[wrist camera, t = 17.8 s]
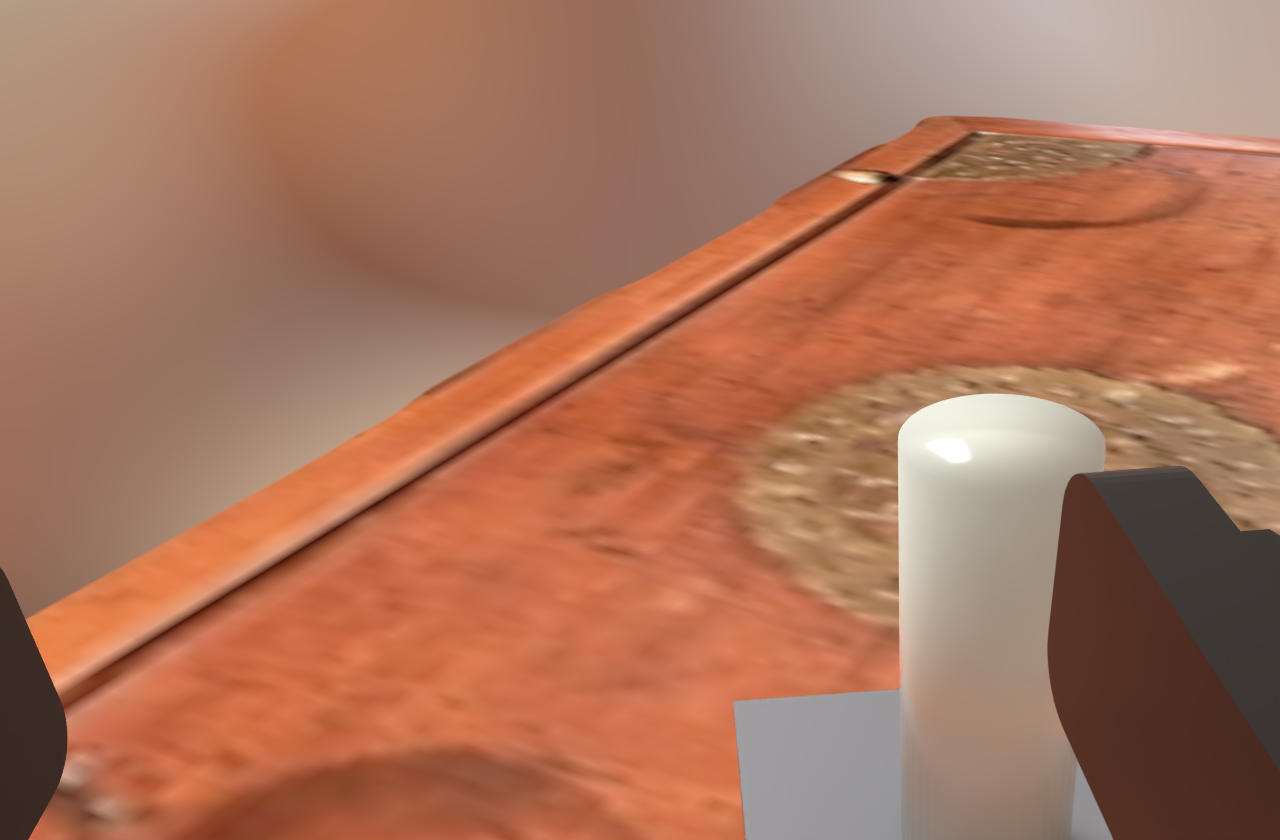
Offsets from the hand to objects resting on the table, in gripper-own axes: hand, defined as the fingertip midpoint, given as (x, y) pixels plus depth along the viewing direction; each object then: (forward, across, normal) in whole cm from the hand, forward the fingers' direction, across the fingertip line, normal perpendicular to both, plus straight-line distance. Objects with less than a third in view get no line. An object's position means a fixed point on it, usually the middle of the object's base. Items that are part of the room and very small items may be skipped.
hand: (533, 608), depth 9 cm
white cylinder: (+17, -9, +23) cm, 30 cm away
